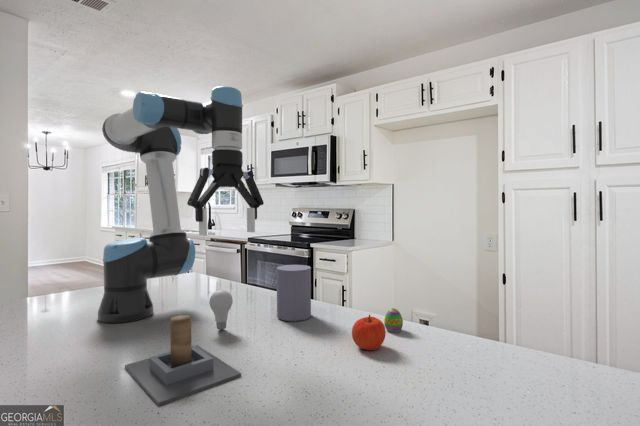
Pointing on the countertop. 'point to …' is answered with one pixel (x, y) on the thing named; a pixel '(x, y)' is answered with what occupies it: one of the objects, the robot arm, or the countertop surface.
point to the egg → (393, 321)
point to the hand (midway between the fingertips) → (228, 233)
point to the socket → (180, 375)
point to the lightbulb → (221, 307)
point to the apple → (368, 333)
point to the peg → (180, 340)
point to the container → (293, 292)
